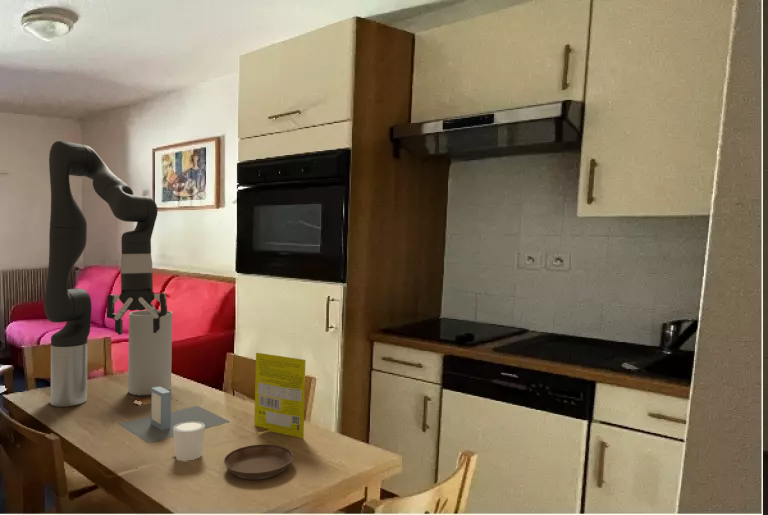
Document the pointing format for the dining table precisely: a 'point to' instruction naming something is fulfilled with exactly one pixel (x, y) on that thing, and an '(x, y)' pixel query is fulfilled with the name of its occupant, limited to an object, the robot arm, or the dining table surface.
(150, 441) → the mat
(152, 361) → the cylinder vase
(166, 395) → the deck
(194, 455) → the white tapered cup
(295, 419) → the food package
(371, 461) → the dining table surface
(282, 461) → the saucer
